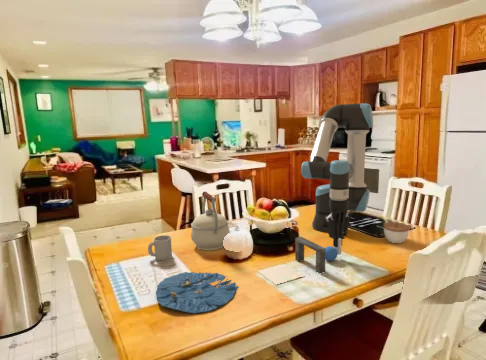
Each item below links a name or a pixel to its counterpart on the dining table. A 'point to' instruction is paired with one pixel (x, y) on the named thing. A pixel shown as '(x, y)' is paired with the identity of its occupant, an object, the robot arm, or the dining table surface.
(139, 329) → the dining table surface
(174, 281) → the blue cloth
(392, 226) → the white lidded pot
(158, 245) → the cup
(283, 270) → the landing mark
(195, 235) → the kettle
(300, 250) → the bridge
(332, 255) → the ball
